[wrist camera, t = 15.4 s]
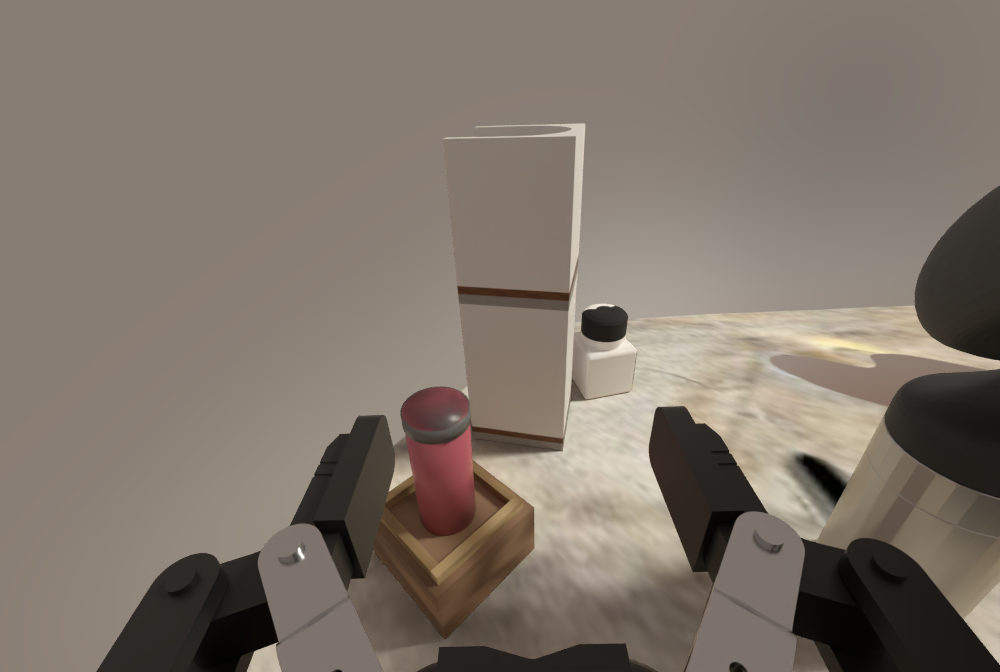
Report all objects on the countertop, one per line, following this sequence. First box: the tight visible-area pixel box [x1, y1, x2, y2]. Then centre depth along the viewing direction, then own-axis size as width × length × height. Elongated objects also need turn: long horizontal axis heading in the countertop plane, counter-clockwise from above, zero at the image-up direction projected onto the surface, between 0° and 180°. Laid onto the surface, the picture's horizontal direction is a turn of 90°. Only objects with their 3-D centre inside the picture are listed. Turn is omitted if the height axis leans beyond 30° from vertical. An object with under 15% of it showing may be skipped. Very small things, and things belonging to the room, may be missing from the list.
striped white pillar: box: [443, 124, 585, 451], centre depth 49 cm, size 11×11×35 cm
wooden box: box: [373, 460, 534, 639], centre depth 40 cm, size 11×11×7 cm
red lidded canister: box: [401, 387, 476, 536], centre depth 36 cm, size 5×5×12 cm
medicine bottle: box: [572, 304, 637, 400], centre depth 61 cm, size 7×7×12 cm
